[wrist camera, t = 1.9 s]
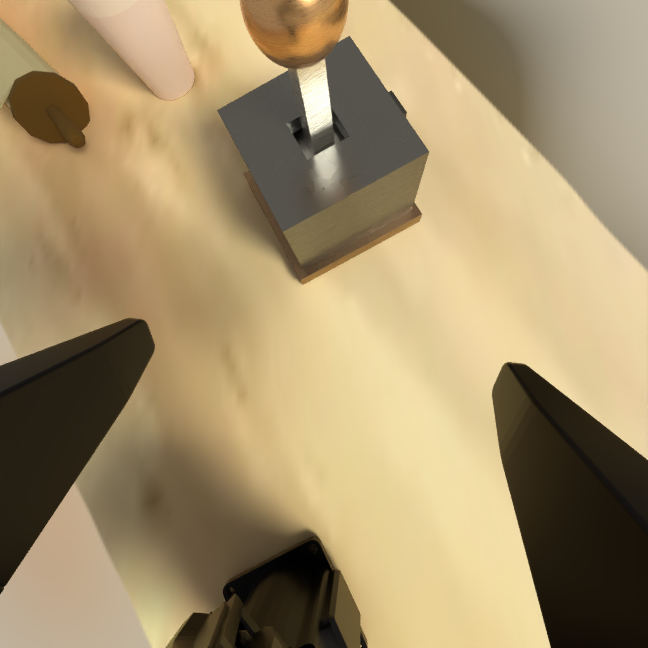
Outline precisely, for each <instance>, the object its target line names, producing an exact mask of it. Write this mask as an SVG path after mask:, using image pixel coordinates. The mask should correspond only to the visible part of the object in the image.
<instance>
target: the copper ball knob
mask: <svg viewBox="0 0 648 648" xmlns="http://www.w3.org/2000/svg"><path fill="white" fill-rule="evenodd" d="M348 1H349V0H240V6H241V11H242V15H243V19H244V22H245V25H246V27H247V30H248V32H249V34H250V36H251V37H252V39H253V41H254V42H255V44H256V45H257V47H258V48H259V49H260V51H261V52H262V53H263V54H264V55H265V56H266V57H268V58H269V59H270V60H271V61H273V62H275V63H276V64H278V65H280V66H283V67H286V68H288V71H289V75H290V79H291V84H292V88H293V92H294V96H295V100H296V105H297V109H298V113H299V117H300V121H301V125H302V129H300V130H298V131H296V132H294V133H293V136H294V138H295V139H296V141H297V143H298V144H299V146H300V148H301V150H302V151H303V153H304V155H305V156H306V158H307V160H308V159H310V158H311V157H313V156H315V155H317V154H319V153H320V152H322V151H324V150H326V149H328V148H329V147H331V146H333V145H335V144H337V143H338V142H340V141H342V140H344V139H345V138H344V136H343V135H342V133H341V132H340V130H339V128H338V127H337V125H336V124H335V122H334V120H333V119H332V115H331V107H330V98H329V90H328V81H327V72H326V64H325V58H326V57H327V56H328V55H329V54H330V53H331V51H332V50H333V49H334V47H335V46H336V44H337V42H338V41H339V39H340V36H341V34H342V32H343V29H344V25H345V22H346V18H347V12H348Z"/></svg>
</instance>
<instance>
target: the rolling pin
mask: <svg viewBox="0 0 648 648" xmlns="http://www.w3.org/2000/svg"><path fill="white" fill-rule="evenodd" d="M4 102H5V103H6V104H7V106H8V107H9V108H10V109H11V110H12V114H13V117H14V118H15V119H16V120H17V121H18V122H19V123H20V125H21V126H22V127H23V128H24V129H25V130H26V131H27V132H28V133H29V134H30V135H32V136H34V137H37V138H39V139H42V140H44V141H47V142H49V143H61V142H68V143H69V144H70V145H72V146H74V147H77V148H79V147H82V146H84V144H85V136H84V135H83V133H82V132H81V131H82V130H83V129H84V128H85V127H86V126H87V125H88V123H89V121H90V118H89V110H88V103H87V102H86V100H85V99H84V97H83V96H82V94H81V93H80V91H79V90H78V89H77V87H76V86H75V85H74V84H73V83H71V82H70V81H68V80H66V79H65V78H63V77H61V76H60V75H59V74H58V73H57V72H56V71H55V70H54V69H53V68H52V67H51V66H50V65H49V64H48V63H47V62H46V61H45V60H44V59H43V58H42V57H41V56H40V55H39V54H38V53H37V52H36V51H35V50H33V49H32V48H31V47H30V46H29V45H28V44H27V43H26V42H25V41H24V40H23V39H22V38H21V37H20V36H19V35H18V34H17V33H16V32H15V31H14V30H12V29H11V28H10V27H9V26H8V25H7V24H6V23H5V22H4V21H3V20H2V19H0V109H1V107H2V105H3V104H4Z"/></svg>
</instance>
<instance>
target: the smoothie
mask: <svg viewBox="0 0 648 648" xmlns="http://www.w3.org/2000/svg"><path fill="white" fill-rule="evenodd" d="M68 1H69V2H70V3H71V4H72V5H73V6H74V7H75V8H76V9H77V10H78V11H79V12H80V14H81V15H82V16H83V17H84V18H85V19H86V20H87V21H88V22H89V23H90V24H91V25H92V27H93V28H94V29H95V30H96V31H97V32H98V33H99V34H100V35H101V36H102V37H103V39H104V40H105V41H106V42H107V43H108V44H109V45H110V46H111V47H112V48H113V49H114V50H115V52H116V53H117V54H118V55H119V56H120V57H121V58H122V59H123V60H124V61H125V62H126V63H127V65H128V66H129V67H130V68H131V69H132V70H133V71H134V72H135V73H136V74H137V75H138V76H139V78H140V79H141V80H142V81H143V82H144V83H145V84H146V85H147V86H148V87H149V88H150V89H151V91H152V92H153V93H154V94H155V95H156V96H157V97H159V98H160V99H163V100H175V99H178V98H181V97H182V96H184V95H185V94H186V93H187V92H188V91H189V90H190V89H191V87H192V85H193V83H194V79H195V75H194V71H193V68H192V66H191V63H190V61H189V58H188V56H187V54H186V51H185V49H184V46H183V44H182V41H181V39H180V36H179V34H178V31H177V29H176V27H175V24H174V22H173V19H172V17H171V14H170V12H169V9H168V7H167V5H166V2H165V0H68Z"/></svg>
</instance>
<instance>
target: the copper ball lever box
mask: <svg viewBox="0 0 648 648" xmlns="http://www.w3.org/2000/svg"><path fill="white" fill-rule="evenodd" d="M325 64H326V72H327V81H328V90H329V98H330V107H331V115H332V119H333V120H334V122H335V124H336V125H337V127H338V128H339V130H340V132H341V133H342V135H343V136H344V138H345V139H344V140H342V141H340V142H338V143H337V144H335V145H333V146H331V147H329V148H328V149H326V150H324V151H322V152H320V153H319V154H317V155H315V156H313V157H311V158H310V159H308V160H307V158H306V156H305V155H304V153H303V151H302V150H301V148H300V146H299V144H298V143H297V141H296V139H295V138H294V136H293V133H294V132H296V131H298V130H300V129H302V125H301V121H300V117H299V113H298V109H297V105H296V100H295V96H294V92H293V88H292V84H291V79H290V75H289V71H286V72H285V73H283V74H281V75H279V76H277V77H276V78H274V79H272V80H270V81H269V82H267V83H265V84H263V85H261V86H260V87H258V88H256V89H254V90H253V91H251V92H249V93H247V94H245V95H244V96H242V97H240V98H238V99H237V100H235V101H233V102H231V103H229V104H228V105H226V106H224V107H222V108H221V109H219V110H217V111H218V113H219V115H220V116H221V118H222V120H223V122H224V124H225V126H226V128H227V129H228V131H229V133H230V135H231V137H232V139H233V141H234V142H235V144H236V146H237V148H238V150H239V152H240V154H241V155H242V157H243V159H244V161H245V163H246V165H247V166H248V168H249V170H250V171H248V172H246V173H244V176H245V177H246V179H247V181H248V183H249V185H250V187H251V189H252V191H253V192H254V194H255V196H256V198H257V200H258V202H259V204H260V206H261V207H262V209H263V211H264V213H265V215H266V217H267V219H268V221H269V222H270V224H271V226H272V228H273V230H274V232H275V234H276V236H277V237H278V239H279V241H280V243H281V245H282V247H283V249H284V251H285V252H286V254H287V256H288V258H289V260H290V262H291V264H292V266H293V267H294V269H295V271H296V273H297V275H298V277H299V279H300V281H301V282H302V284H305V283H307V282H309V281H311V280H312V279H314V278H316V277H318V276H320V275H322V274H324V273H325V272H327V271H329V270H331V269H333V268H335V267H336V266H338V265H340V264H342V263H344V262H346V261H347V260H349V259H351V258H353V257H355V256H357V255H358V254H360V253H362V252H364V251H366V250H368V249H370V248H371V247H373V246H375V245H377V244H379V243H381V242H382V241H384V240H386V239H388V238H390V237H392V236H393V235H395V234H397V233H399V232H401V231H403V230H404V229H406V228H408V227H410V226H412V225H414V224H415V223H417V222H419V221H420V218H421V216H422V213H421V212H420V210H419V209H418V207H417V206H416V204H415V203H414V201H415V198H416V194H417V191H418V187H419V184H420V181H421V177H422V174H423V171H424V167H425V164H426V161H427V157H428V154H429V151H428V149H427V148H426V146H425V145H424V144H423V142H422V141H421V139H420V138H419V136H418V135H417V133H416V132H415V130H414V129H413V128H412V126H411V125H410V123H409V122H408V120H407V119H406V114H407V112H406V111H405V109H404V108H403V106H402V105H401V103H400V102H399V100H398V99H397V98H396V96H395V95H394V93H393V92H392V91H390V92H388V91H387V90H386V88H385V87H384V85H383V84H382V82H381V81H380V79H379V78H378V77H377V75H376V74H375V72H374V71H373V69H372V68H371V66H370V65H369V63H368V62H367V61H366V59H365V58H364V56H363V55H362V53H361V52H360V50H359V49H358V47H357V46H356V45H355V43H354V42H353V40H352V39H351V37H350V36H349V37H347V38H345V39H343V40H341V41H340V42H338V43H337V44H336V46H335V47H334V49H333V50H332V51H331V53H330V54H329V55H328V56H327V57H326V58H325Z"/></svg>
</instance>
